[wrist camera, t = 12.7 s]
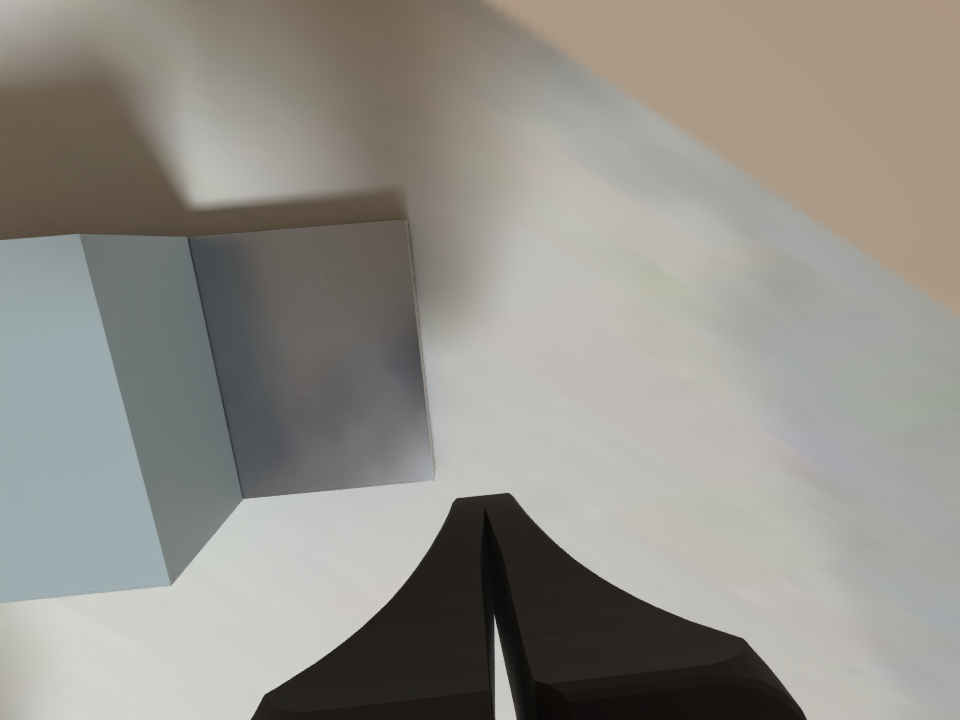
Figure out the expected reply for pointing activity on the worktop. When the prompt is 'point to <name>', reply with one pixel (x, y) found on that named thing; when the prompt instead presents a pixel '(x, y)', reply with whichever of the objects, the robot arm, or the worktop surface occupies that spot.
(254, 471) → the base
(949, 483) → the worktop surface
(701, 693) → the robot arm
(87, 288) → the block
